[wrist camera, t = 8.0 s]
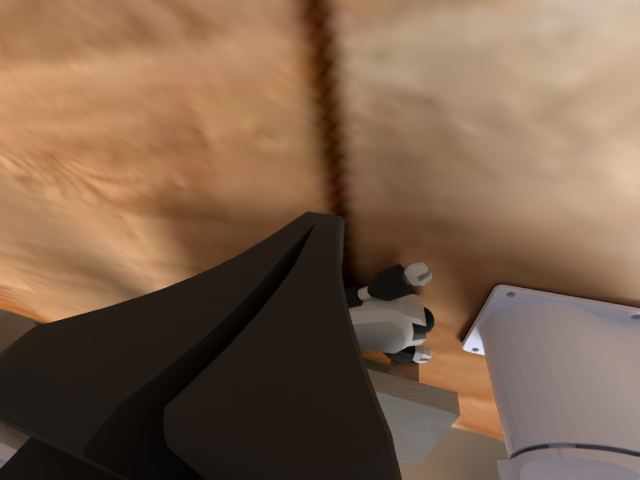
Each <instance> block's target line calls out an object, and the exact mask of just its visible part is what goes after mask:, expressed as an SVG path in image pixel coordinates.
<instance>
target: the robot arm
mask: <svg viewBox="0 0 640 480" xmlns="http://www.w3.org/2000/svg"><path fill="white" fill-rule="evenodd" d="M344 227H345V220H344V218H343V217H342V216H335V215H328V214H321V213H314V212H306V213H304V214H303V215H301V216H300V217H298V218H297V219H295V220H294V221H292V222H291V223H289V224H288V225H287V226H285V227H284V228H282V229H281V230H279V231H277V232H276V233H274V234H273V235H271V236H270V237H268V238H267V239H265V240H263V241H262V242H260V243H258V244H257V245H255V246H253V247H252V248H250V249H248V250H247V251H245V252H243V253H241V254H240V255H238V256H236V257H234V258H232V259H230V260H228V261H226V262H224V263H222V264H220V265H218V266H216V267H214V268H212V269H210V270H208V271H205V272H203V273H201V274H198V275H196V276H193V277H191V278H188V279H186V280H184V281H181V282H179V283H176V284H174V285H171V286H169V287H166V288H163V289H161V290H158V291H155V292H152V293H149V294H146V295H144V296H141V297H138V298H134V299H131V300H128V301H125V302H122V303H119V304H116V305H112V306H109V307H106V308H102V309H99V310H95V311H91V312H88V313H84V314H80V315H77V316H73V317H69V318H66V319H62V320H58V321H54V322H51V323H47V324H43V325H39V326H36V327H34V328H33V329H31V330H30V331H28V332H27V333H25V334H24V335H23V336H22V337H20V338H19V339H18V340H17V341H15V342H14V343H13V344H11V345H10V346H9V347H7V348H6V349H5V350H3V351H2V352H1V353H0V422H2V423H4V424H6V425H8V426H10V427H12V428H14V429H16V430H18V431H20V432H22V433H24V434H26V435H28V436H30V439H28V441H27V442H26V443H25V444H24V445H23V446H22V447H21V448H20V449H19V450H18V451H16V450H14V449H12V448H10V447H8V446H6V445H4V444H2V443H0V480H402V478H401V473H400V469H399V465H398V460H397V456H396V452H395V447H394V442H393V437H392V433H391V430H390V428H389V425H388V423H387V420H386V418H385V416H384V413H383V411H382V408H381V406H380V403H379V400H378V398H377V395H376V392H375V390H374V387H373V385H372V382H371V379H370V376H369V373H368V371H367V368H366V365H365V362H364V359H363V356H362V353H361V350H360V347H359V343H358V340H357V337H356V333H355V330H354V327H353V323H352V320H351V316H350V312H349V308H348V304H347V299H346V294H345V290H344V284H343V278H342V270H341V266H342V261H343V245H344ZM509 292H512V293H509ZM462 348H463V349H464V350H465V351H469V352H473V353H477V354H482V355H485V358H486V362H487V366H488V371H489V375H490V379H491V384H492V388H493V392H494V397H495V401H496V405H497V410H498V414H499V418H500V423H501V427H502V431H503V436H504V440H505V444H506V448H507V453H508V457H509V460H498V461H497V465H498V471H499V476H500V480H640V308H636V307H630V306H624V305H618V304H613V303H607V302H601V301H595V300H589V299H584V298H578V297H572V296H566V295H561V294H555V293H549V292H543V291H537V290H532V289H526V288H520V287H514V286H509V285H498V286H495V287H494V289H493V290H492V292H491V294H490V296H489V297H488V299H487V301H486V302H485V304H484V306H483V308H482V309H481V311H480V313H479V315H478V316H477V318H476V320H475V322H474V323H473V325H472V327H471V328H470V330H469V332H468V334H467V335H466V337H465V339H464V341H463V342H462Z"/></svg>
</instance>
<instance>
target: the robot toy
mask: <svg viewBox="0 0 640 480" xmlns="http://www.w3.org/2000/svg"><path fill="white" fill-rule="evenodd" d="M432 276H433V275H432V273H431V271H430V270H428V267H427V265H426V264H424V263H422V262H418V263H412V264H410V265H409V266H408V267H407V268H406V269H404V268H403V267H402V266H401V265H400V264H399V265H396V266H394V267H391V268H389V269H386V270H384V271H381V272H378V274H377V275H376V276H375V277H374V279H373V280H372V281H371V282H370V284H369V285H368V286H367V287H364V288H362V289H360V288H358V287H357V286H352V287H349V288H347V289H344V290H345V294H346V299H347V304H348V308H349V312H350V316H351V320H352V323H353V327H354V330H355V333H356V337H357V340H358V343H359V347H360V349H364V350H370V351H376V352H383V353H384V354H385V355H386V356H387V357H388V358H389V359H392V360H396V361H399V362H402V363H406V364H409V363H410V362H411V361H412V360H414V361H415V362H416V363H425V362H427V361H428V359H430V358H431V355H432V354H431V352H430V350H429V349H428V348H426V347H424V346H415V345H420V344H422V343H423V342H424V341H425V340H426V339H427V338H426V333H427V332H429V331H431V329H432V328H433V326H434V317H433V314H432V313H431V311H429V310H428V309H427V308H425V307H424V306H423V301H422V300H421V299H420V298H419V296H418V295H415V294H412V285H413V286H424V285H425V284H427V283H429V282H431V279H432Z"/></svg>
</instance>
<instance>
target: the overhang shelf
mask: <svg viewBox="0 0 640 480" xmlns="http://www.w3.org/2000/svg"><path fill="white" fill-rule="evenodd" d="M360 350H361V353H362V356H363V359H364V362H365V365H366V368H367V371H368V373H369V376H370V379H371V382H372V385H373V387H374V390H375V392H376V395H377V398H378V400H379V403H380V406H381V408H382V411H383V413H384V416H385V418H386V420H387V423H388V425H389V428H390V430H391V433H392V437H393V442H394V447H395V452H396V456H397V460H398V461H399V462H402V463H405V464H408V465H411V466H414V467H418V466H419V465H420V463H421V462H422V461H423V460H424V459H425V457H426V456H427V455H428V454H429V452H430V451H431V450H432V449H433V448H434V446H435V445H436V444H437V443H438V441H439V440H440V439H441V438H442V437H443V435H444V434H445V433H446V432H447V430H448V429H449V428H450V427H451V425H452V424H453V423H454V422H455V421H456V419H457V418H458V417H459V416H460V411H459V403H458V395H457V392H453V391H449V390H446V389H442V388H438V387H434V386H431V385H427V384H423V383H419V364H417V363H413V362H410V363H409V364H406V363H402V362H399V361H396V360H392V359H389V358H388V357H387V356H386V355H385V354H384V353H383V352H376V351H370V350H364V349H360Z"/></svg>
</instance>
